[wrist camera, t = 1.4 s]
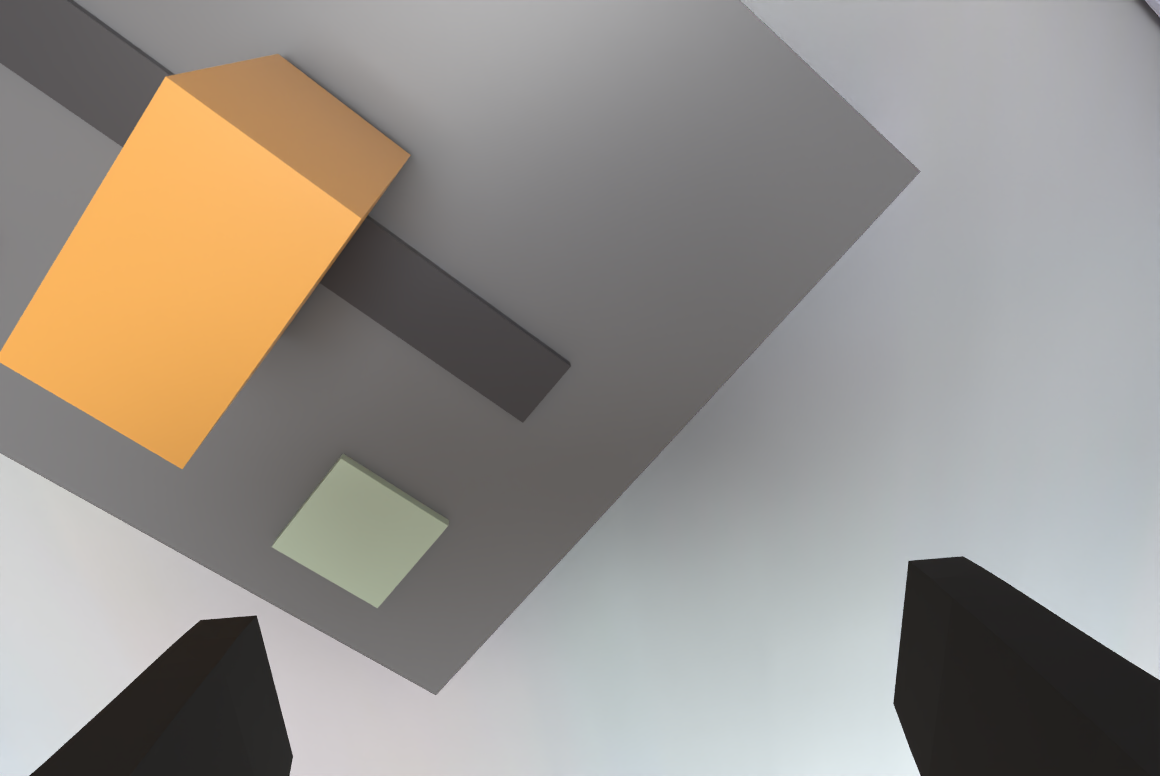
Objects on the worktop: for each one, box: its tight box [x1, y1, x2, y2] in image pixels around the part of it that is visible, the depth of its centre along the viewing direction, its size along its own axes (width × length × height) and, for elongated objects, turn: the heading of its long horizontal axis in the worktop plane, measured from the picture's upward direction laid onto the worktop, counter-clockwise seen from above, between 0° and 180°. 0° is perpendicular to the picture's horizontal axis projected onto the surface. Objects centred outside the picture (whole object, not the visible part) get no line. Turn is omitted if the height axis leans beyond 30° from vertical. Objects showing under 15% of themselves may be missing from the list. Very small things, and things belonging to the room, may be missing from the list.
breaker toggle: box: [0, 54, 411, 469], centre depth 12 cm, size 2×4×4 cm, turn 141°
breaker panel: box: [0, 0, 921, 695], centre depth 15 cm, size 18×14×3 cm
